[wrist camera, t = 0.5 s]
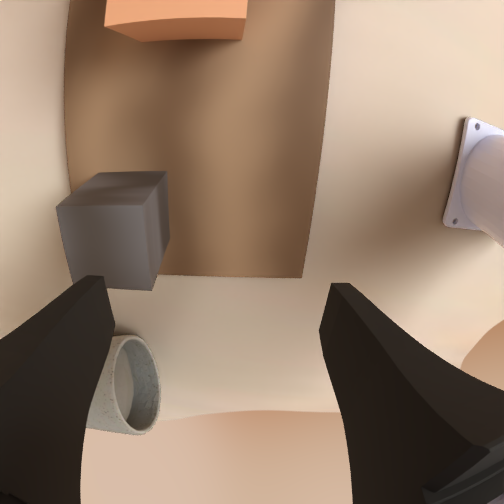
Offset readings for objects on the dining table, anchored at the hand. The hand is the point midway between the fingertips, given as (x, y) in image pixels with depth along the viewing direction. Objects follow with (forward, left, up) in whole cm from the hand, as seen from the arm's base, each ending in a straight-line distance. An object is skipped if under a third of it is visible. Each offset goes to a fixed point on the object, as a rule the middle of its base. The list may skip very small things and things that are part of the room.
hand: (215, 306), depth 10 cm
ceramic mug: (+9, +15, -10) cm, 20 cm away
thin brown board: (+2, -6, -9) cm, 12 cm away
